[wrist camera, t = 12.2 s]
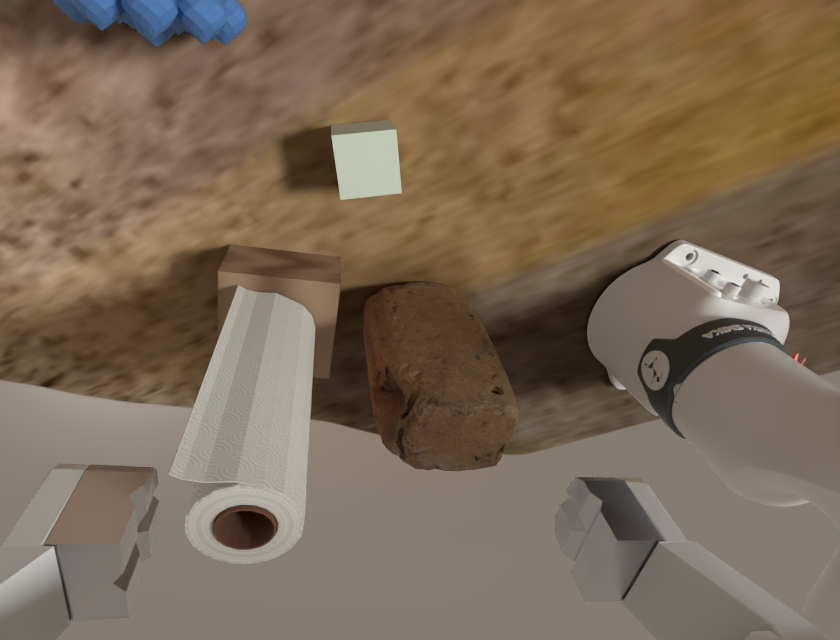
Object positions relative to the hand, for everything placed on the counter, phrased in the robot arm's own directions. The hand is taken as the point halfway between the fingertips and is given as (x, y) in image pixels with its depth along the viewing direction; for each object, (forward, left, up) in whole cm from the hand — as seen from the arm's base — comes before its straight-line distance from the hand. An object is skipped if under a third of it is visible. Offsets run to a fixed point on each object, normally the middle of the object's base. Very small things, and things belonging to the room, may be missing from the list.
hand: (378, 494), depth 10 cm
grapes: (+13, -8, -39) cm, 42 cm away
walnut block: (+4, +16, -39) cm, 42 cm away
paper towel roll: (+4, +15, -33) cm, 37 cm away
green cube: (-2, +1, -39) cm, 39 cm away
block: (-9, +16, -39) cm, 43 cm away
